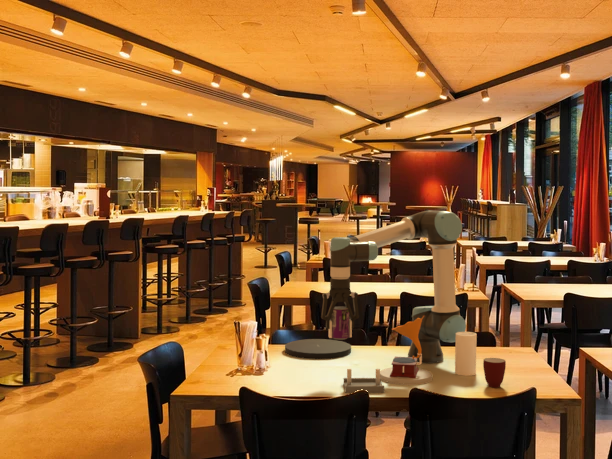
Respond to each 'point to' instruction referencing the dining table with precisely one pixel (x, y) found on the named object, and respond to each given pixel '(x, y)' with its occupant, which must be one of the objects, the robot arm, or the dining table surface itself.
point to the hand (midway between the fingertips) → (340, 336)
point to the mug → (494, 371)
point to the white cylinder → (465, 353)
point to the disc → (317, 349)
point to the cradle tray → (363, 383)
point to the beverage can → (340, 323)
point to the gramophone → (407, 360)
